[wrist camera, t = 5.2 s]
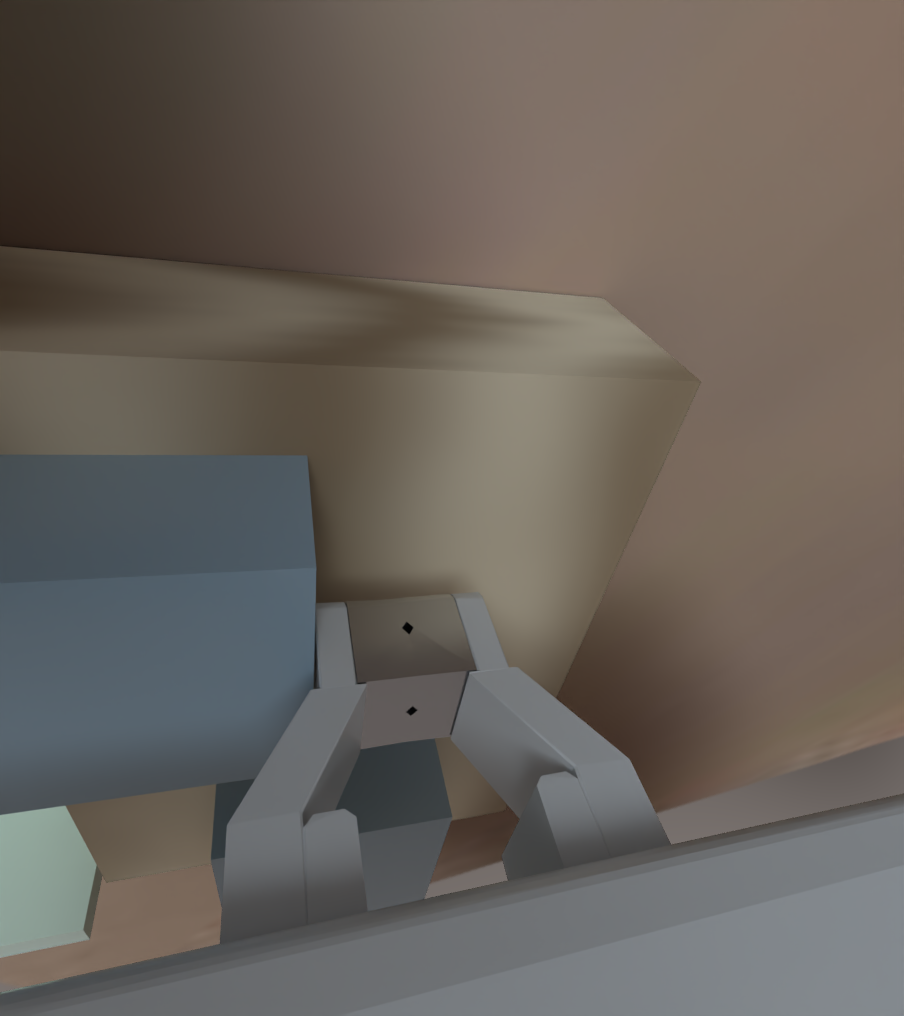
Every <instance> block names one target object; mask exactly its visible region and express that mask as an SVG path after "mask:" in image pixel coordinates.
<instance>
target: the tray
mask: <svg viewBox="0 0 904 1016" xmlns="http://www.w3.org/2000/svg"><path fill="white" fill-rule="evenodd" d="M101 880H102V874H101V872H100V870H99V868H98V866H97V864H96V863H95V861H94V859H93V857H92V855H91V853H90V851H89V849H88V848H87V846H86V844H85V842H84V840H83V838H82V836H81V834H80V832H79V831H78V829H77V827H76V825H75V823H74V821H73V819H72V817H71V815H70V814H69V812H68V810H67V808H66V806H60V807H53V808H46V809H39V810H32V811H25V812H18V813H11V814H4V815H0V958H1V957H6V956H11V955H16V954H21V953H26V952H30V951H35V950H40V949H45V948H50V947H55V946H60V945H65V944H70V943H75V942H80V941H85V940H90V936H91V931H92V926H93V921H94V915H95V910H96V905H97V900H98V895H99V890H100V885H101Z"/></svg>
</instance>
